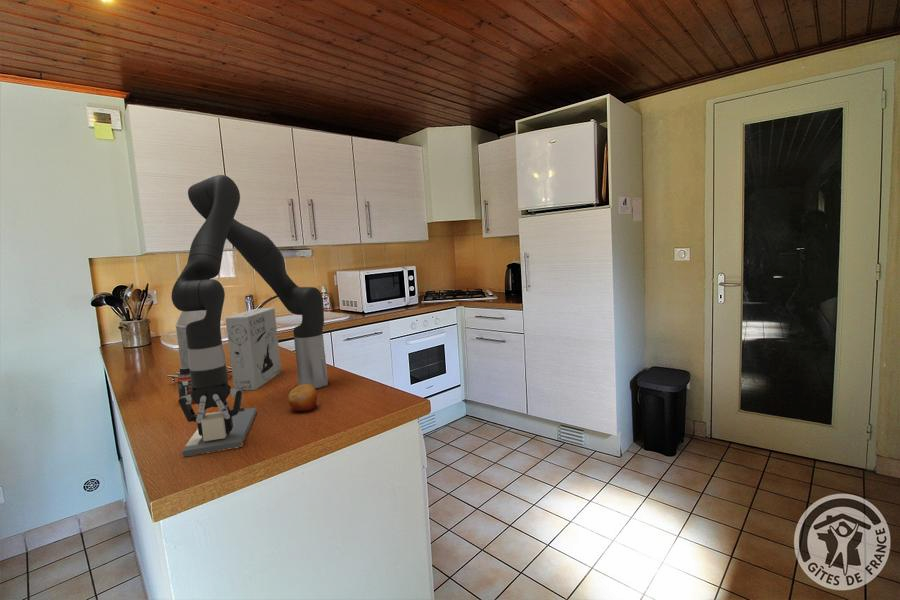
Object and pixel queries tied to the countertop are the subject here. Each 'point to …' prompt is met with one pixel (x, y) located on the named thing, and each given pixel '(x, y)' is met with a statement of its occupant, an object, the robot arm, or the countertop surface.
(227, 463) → the countertop surface
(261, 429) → the countertop surface
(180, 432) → the countertop surface
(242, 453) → the countertop surface
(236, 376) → the cereal box
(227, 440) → the board
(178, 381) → the supplement bottle
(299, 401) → the fruit
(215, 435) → the tab
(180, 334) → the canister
